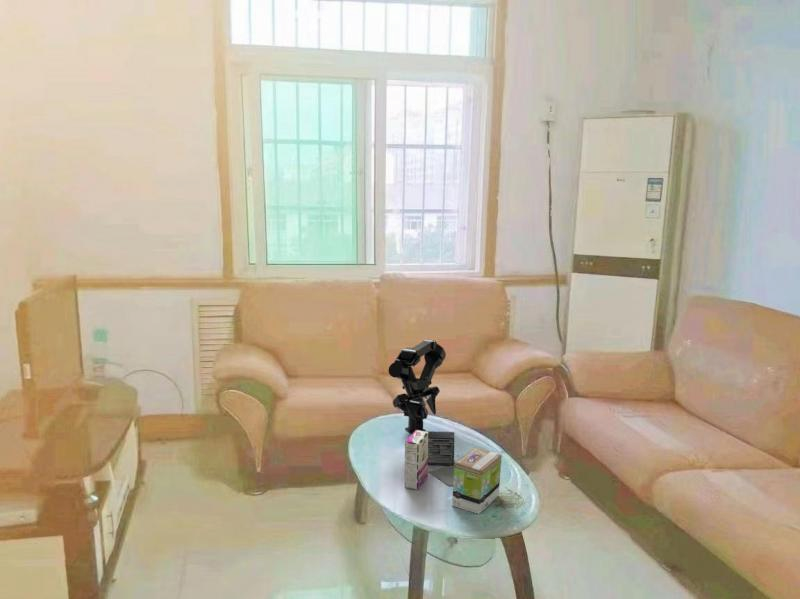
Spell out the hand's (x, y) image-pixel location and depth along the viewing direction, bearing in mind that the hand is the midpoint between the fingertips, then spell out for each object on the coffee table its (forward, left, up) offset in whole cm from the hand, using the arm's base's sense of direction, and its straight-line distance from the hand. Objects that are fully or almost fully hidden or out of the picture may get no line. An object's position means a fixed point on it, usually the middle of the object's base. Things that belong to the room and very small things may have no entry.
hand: (425, 416), depth 233 cm
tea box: (+40, -7, -14) cm, 43 cm away
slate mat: (+22, -1, -13) cm, 26 cm away
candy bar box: (+20, -17, -14) cm, 29 cm away
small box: (+11, -1, -13) cm, 17 cm away
